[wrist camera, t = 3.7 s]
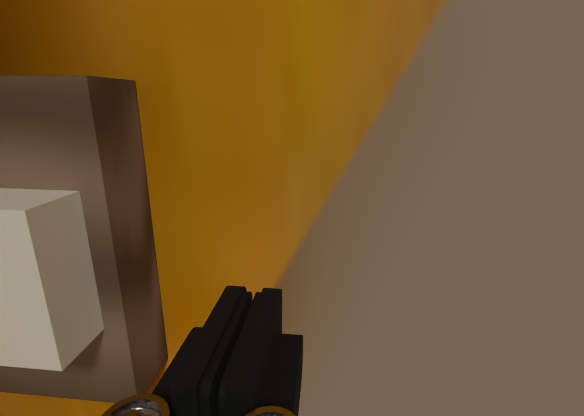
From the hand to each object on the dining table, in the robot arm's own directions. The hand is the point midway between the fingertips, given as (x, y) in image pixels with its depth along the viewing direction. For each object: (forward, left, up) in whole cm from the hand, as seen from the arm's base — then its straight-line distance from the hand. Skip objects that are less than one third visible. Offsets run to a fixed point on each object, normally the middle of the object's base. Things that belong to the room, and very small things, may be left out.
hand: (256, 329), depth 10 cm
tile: (0, -10, -3) cm, 10 cm away
